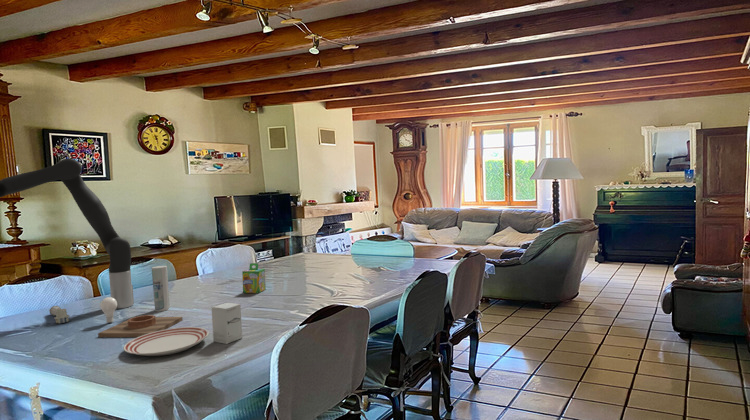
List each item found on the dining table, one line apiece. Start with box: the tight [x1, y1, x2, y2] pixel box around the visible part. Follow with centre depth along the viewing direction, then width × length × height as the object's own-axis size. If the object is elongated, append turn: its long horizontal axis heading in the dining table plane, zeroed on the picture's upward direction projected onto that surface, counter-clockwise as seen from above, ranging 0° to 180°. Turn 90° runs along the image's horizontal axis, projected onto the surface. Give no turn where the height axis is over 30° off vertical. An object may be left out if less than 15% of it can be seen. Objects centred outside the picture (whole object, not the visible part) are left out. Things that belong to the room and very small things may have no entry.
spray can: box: [151, 265, 171, 312], centre depth 224 cm, size 6×6×20 cm
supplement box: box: [211, 302, 243, 345], centre depth 173 cm, size 7×7×13 cm
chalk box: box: [241, 262, 267, 294], centre depth 254 cm, size 9×9×15 cm
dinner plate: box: [123, 326, 210, 357], centre depth 169 cm, size 28×27×3 cm
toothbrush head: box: [48, 305, 70, 325], centre depth 217 cm, size 5×7×25 cm
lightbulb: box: [99, 296, 117, 324], centre depth 205 cm, size 6×6×11 cm
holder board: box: [97, 314, 183, 338], centre depth 194 cm, size 22×22×4 cm
